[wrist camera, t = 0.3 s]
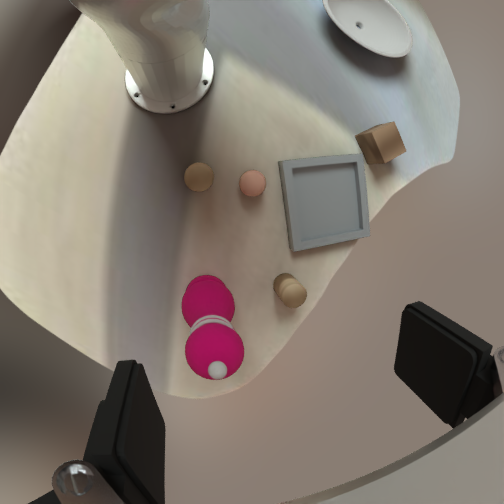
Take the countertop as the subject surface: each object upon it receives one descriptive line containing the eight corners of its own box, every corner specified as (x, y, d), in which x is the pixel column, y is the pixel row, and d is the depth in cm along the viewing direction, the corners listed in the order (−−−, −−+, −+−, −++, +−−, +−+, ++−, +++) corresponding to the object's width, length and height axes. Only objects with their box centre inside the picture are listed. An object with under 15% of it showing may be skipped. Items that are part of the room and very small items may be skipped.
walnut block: (354, 135, 43) (371, 132, 38) (376, 125, 43) (394, 121, 38) (367, 163, 44) (384, 163, 39) (388, 152, 44) (406, 151, 40)
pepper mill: (239, 284, 45) (272, 358, 26) (216, 323, 46) (234, 411, 26) (195, 263, 43) (199, 329, 24) (174, 304, 44) (166, 389, 24)
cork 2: (271, 275, 45) (281, 287, 41) (294, 271, 46) (305, 281, 41) (274, 297, 46) (283, 310, 42) (296, 292, 47) (307, 304, 42)
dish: (300, 31, 37) (312, 18, 32) (322, -19, 35) (333, -32, 30) (389, 81, 41) (406, 75, 37) (401, 28, 39) (416, 20, 34)
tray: (278, 161, 41) (282, 160, 40) (356, 154, 43) (362, 153, 41) (289, 248, 45) (294, 251, 43) (363, 233, 47) (369, 236, 45)
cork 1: (183, 167, 39) (182, 165, 34) (209, 162, 40) (211, 160, 35) (187, 192, 40) (186, 194, 35) (213, 187, 41) (215, 188, 36)
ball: (235, 172, 41) (239, 171, 37) (260, 168, 41) (266, 167, 38) (239, 197, 42) (243, 199, 38) (264, 193, 42) (270, 194, 39)
